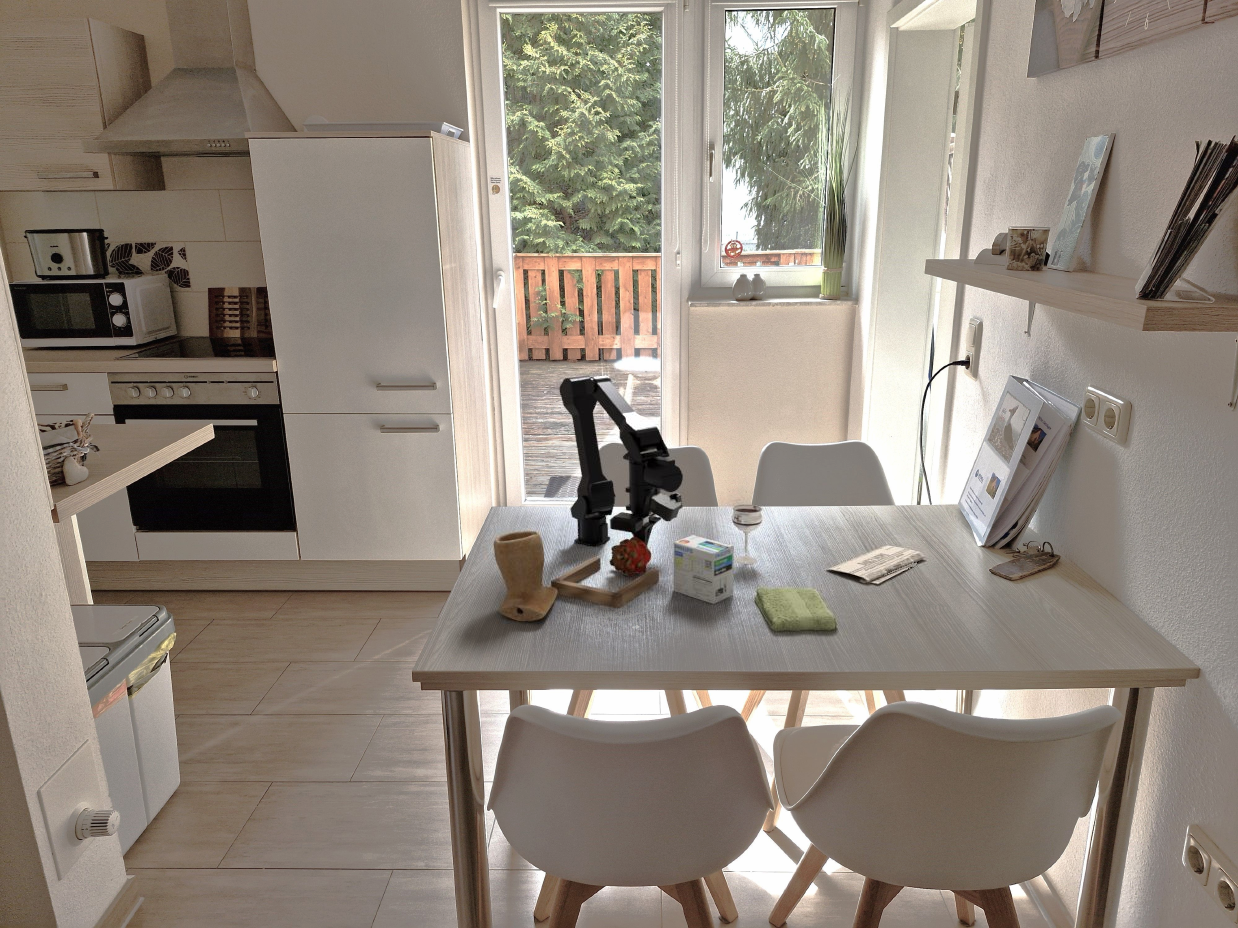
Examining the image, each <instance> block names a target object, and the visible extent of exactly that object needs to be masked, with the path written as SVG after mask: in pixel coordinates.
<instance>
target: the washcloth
mask: <svg viewBox="0 0 1238 928" xmlns="http://www.w3.org/2000/svg"><path fill="white" fill-rule="evenodd" d="M755 593H756V594H755V595H754V597H753V598H754V601H755V603H756V605H757V606H758V608H759V610H760V612H761V614H762V616H763V617H764V618H765V620H766V621H765V622H767V623H768V625H769V627H770V628H771V629H773V630H772V631H775V632H785V631H786V630H787V632H789V631H790V632H791V631H793V630H794V631H793V632H799V631H808V630H809V631H814V630H815V631H816V632H817V630H818V631H829V632H830V631H833V630H835V629H836V626H837V625H838V622H837V620H836V616H834V614H833V613H832V612H831V610H830V609H829V608H828V607H829V606H827V605H826V603H825V602H824V600H823V598H822V597H821V596H822V595H821V594H820V593H819V591H818V590H816V589H814V588H811V587H810V588H809V587H804V588H802V587H801V588H800V587H791V586H779V587H774V588H771V587H765V586H758V587H757V588H756V591H755ZM784 630H785V631H784Z"/></svg>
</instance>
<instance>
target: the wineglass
mask: <svg viewBox="0 0 1238 928" xmlns="http://www.w3.org/2000/svg"><path fill="white" fill-rule="evenodd" d="M731 509H732V511H733V512H732V514H731V522H732V523H733V525H734V526H735V528H737V529H738V530H739V531H742V532H743V534H744V556H743V555H742V556H741V555H740V556H738V557H735V558H734V562H736V563H738V564H742V565H751V564H756V563H757V562H758V559H757V558H756V557H753V556H748V545H749V534H750V533H751V532H753V531H755V530H757V529H758V528H759V527H760V526H761V524H762V522H763V517H764V516H763V514H762V511H763V507H761V506H759V505H757V504H756V505H755V504H747V503H746V504H737V505H734V506H733V507H732V508H731Z"/></svg>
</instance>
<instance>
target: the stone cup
mask: <svg viewBox="0 0 1238 928" xmlns="http://www.w3.org/2000/svg"><path fill="white" fill-rule="evenodd" d="M493 550H494V551H493V552H494V557H495V561H496V562H495V563H496V564H497V566H498V567H497V568H498V569H499V571H500V573H501V574H500V575H501V576H502V578H503V582H504V584H505V586H506V591H507V592H506V596H504V599H503V601H502V603H501V605H500V607H499V608H498V612H499V614H501V615H503V616H505V617H506V618H509V619H511V620H515V621H518V622H533V621H537V620H541V619H542V618H544V617H545V616H546V614H548V612H549V610H551V607H552V606H553V604H554V602H555V601H556V598H557V595H558V594H557V593H558V592H557V589H556V588H553V587H551V586H545V585H543V575H544V574H543V572H544V570H543V569H544V566H545V565H544V564H545V551H544V545H543V539H542V537H541V535H540V533H539V532H537V531H534V530H524V531H520V530H519V531H514V532H508V533H505V534H502V535H500V536H497V537H496V538H494V541H493Z"/></svg>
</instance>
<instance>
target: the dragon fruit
mask: <svg viewBox="0 0 1238 928" xmlns="http://www.w3.org/2000/svg"><path fill="white" fill-rule="evenodd" d="M651 560H652V552H651V550H650V549H649V547H648V545H647V546H646V544H645V543H644V542H643V541H642V540H640V539H639V538H637V537H633V536H631V537H630V538H625V539H623V540H621V541H620V542H619V544H616V545H613V546H612V547H611V559H610V560H609V562H608V563H609V564H610V566H611V567H613V568H614V569H615V571H618V572H621V573H622V575H623V576H626V577H632V576H634V575H635V573H637V574H645V573H646V572H647V569H648V568H647V565H648V563H650V562H651Z"/></svg>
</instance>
